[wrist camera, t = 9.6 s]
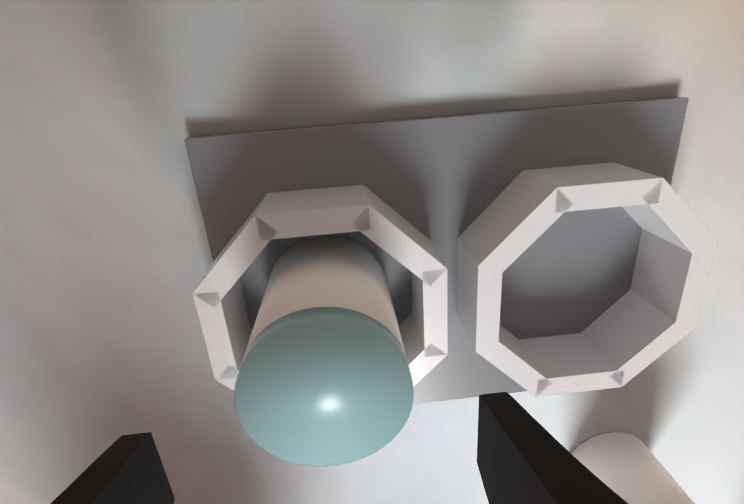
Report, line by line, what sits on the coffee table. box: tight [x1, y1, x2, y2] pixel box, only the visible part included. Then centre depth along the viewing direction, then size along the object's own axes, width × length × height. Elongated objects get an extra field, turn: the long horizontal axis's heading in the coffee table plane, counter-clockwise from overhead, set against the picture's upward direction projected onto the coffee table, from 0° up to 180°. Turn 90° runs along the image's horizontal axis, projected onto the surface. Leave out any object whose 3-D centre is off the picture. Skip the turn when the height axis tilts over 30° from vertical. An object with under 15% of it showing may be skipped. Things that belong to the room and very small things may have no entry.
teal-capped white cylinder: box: [234, 235, 414, 466], centre depth 13 cm, size 4×4×6 cm
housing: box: [185, 97, 718, 404], centre depth 16 cm, size 17×12×3 cm
